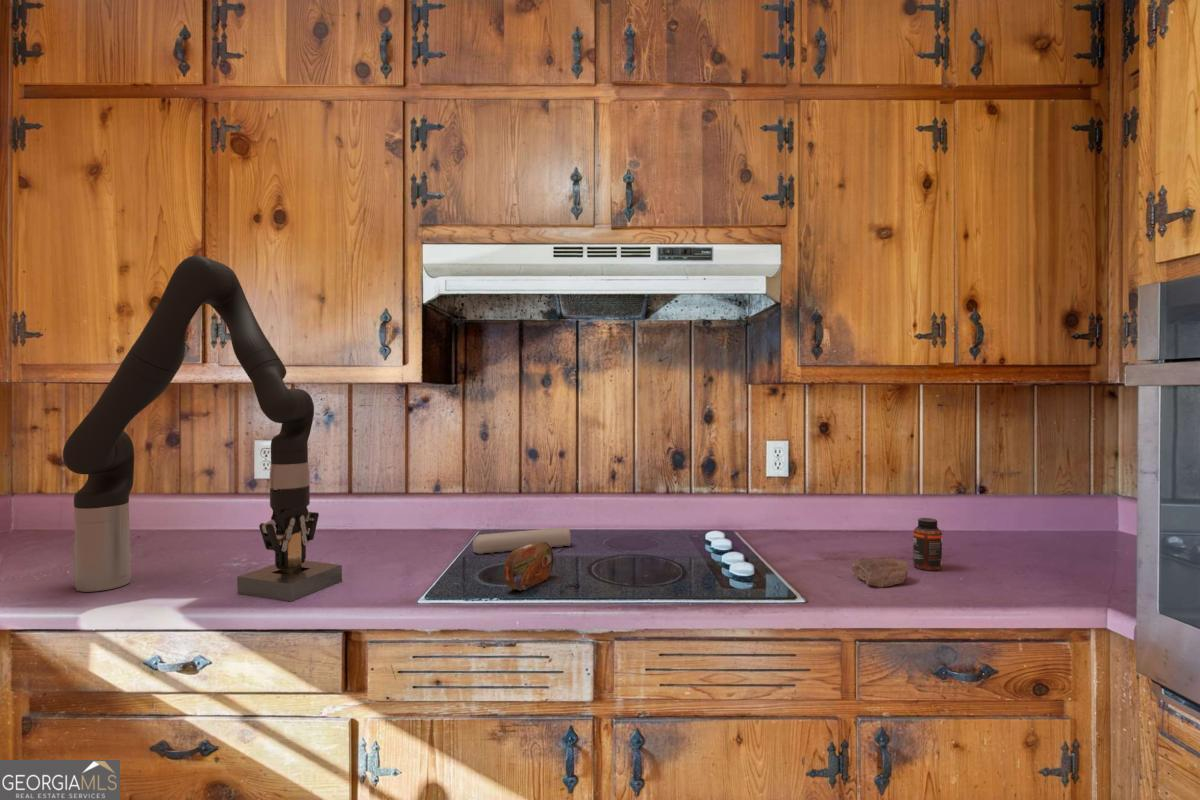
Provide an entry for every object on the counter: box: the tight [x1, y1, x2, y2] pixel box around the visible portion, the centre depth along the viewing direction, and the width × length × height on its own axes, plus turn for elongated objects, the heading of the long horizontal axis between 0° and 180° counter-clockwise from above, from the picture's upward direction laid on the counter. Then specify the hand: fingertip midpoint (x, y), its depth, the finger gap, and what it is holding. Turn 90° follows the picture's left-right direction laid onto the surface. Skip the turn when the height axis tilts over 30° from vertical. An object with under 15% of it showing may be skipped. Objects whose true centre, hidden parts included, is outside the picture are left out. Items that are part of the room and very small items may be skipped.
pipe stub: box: [280, 531, 302, 575], centre depth 136 cm, size 4×4×9 cm
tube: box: [472, 525, 572, 555], centre depth 167 cm, size 5×5×25 cm
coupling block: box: [236, 560, 343, 602], centre depth 136 cm, size 14×14×4 cm
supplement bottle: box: [912, 517, 943, 572], centre depth 150 cm, size 6×6×11 cm
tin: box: [503, 542, 554, 592], centre depth 138 cm, size 15×3×8 cm, turn 151°
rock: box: [850, 556, 909, 588], centre depth 141 cm, size 12×10×5 cm
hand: (290, 565), depth 136 cm, fingers closed on pipe stub, 4 cm apart
